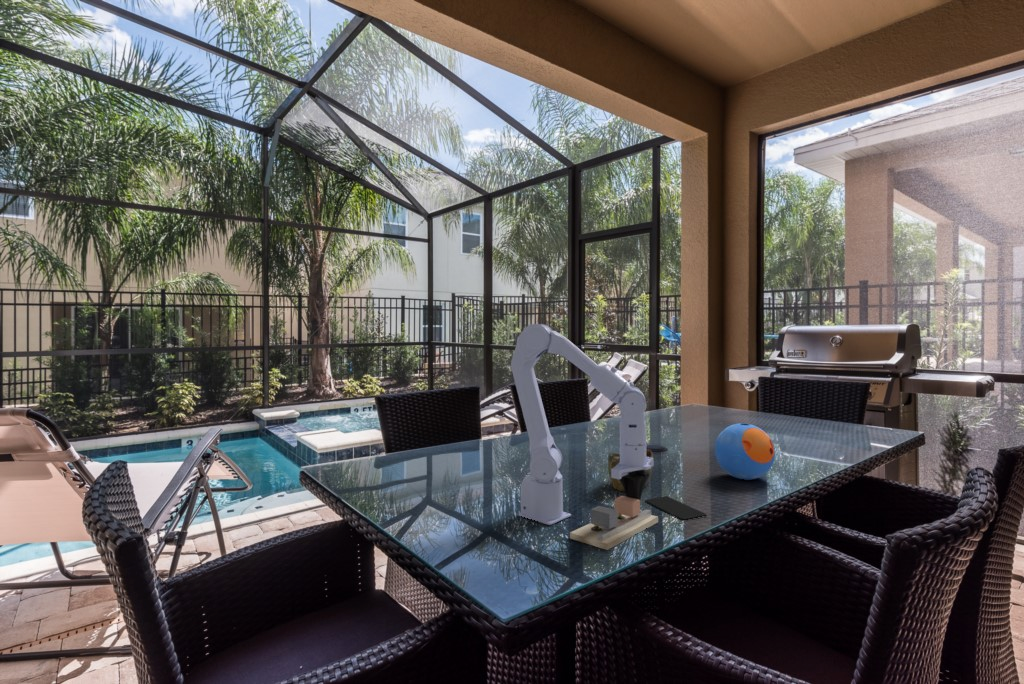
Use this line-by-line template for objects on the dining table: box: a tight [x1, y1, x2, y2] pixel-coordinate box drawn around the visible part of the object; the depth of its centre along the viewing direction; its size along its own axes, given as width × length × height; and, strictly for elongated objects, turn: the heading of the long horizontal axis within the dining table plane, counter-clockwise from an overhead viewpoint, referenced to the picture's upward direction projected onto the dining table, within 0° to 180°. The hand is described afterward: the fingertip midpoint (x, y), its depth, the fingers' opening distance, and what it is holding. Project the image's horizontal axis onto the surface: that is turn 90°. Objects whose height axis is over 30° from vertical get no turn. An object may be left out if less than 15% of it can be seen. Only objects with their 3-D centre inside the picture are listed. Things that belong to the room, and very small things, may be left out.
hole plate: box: [569, 514, 659, 551], centre depth 115 cm, size 9×20×1 cm, turn 136°
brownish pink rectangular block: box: [613, 495, 641, 517], centre depth 117 cm, size 5×3×4 cm, turn 47°
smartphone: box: [644, 495, 708, 521], centre depth 127 cm, size 7×1×15 cm
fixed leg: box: [590, 505, 618, 529], centre depth 111 cm, size 5×3×4 cm, turn 46°
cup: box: [607, 448, 654, 492], centre depth 147 cm, size 13×20×10 cm, turn 118°
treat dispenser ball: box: [714, 422, 776, 481], centre depth 151 cm, size 16×15×15 cm
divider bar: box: [597, 509, 652, 541], centre depth 113 cm, size 1×19×1 cm, turn 137°
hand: (633, 504), depth 119 cm, fingers closed
